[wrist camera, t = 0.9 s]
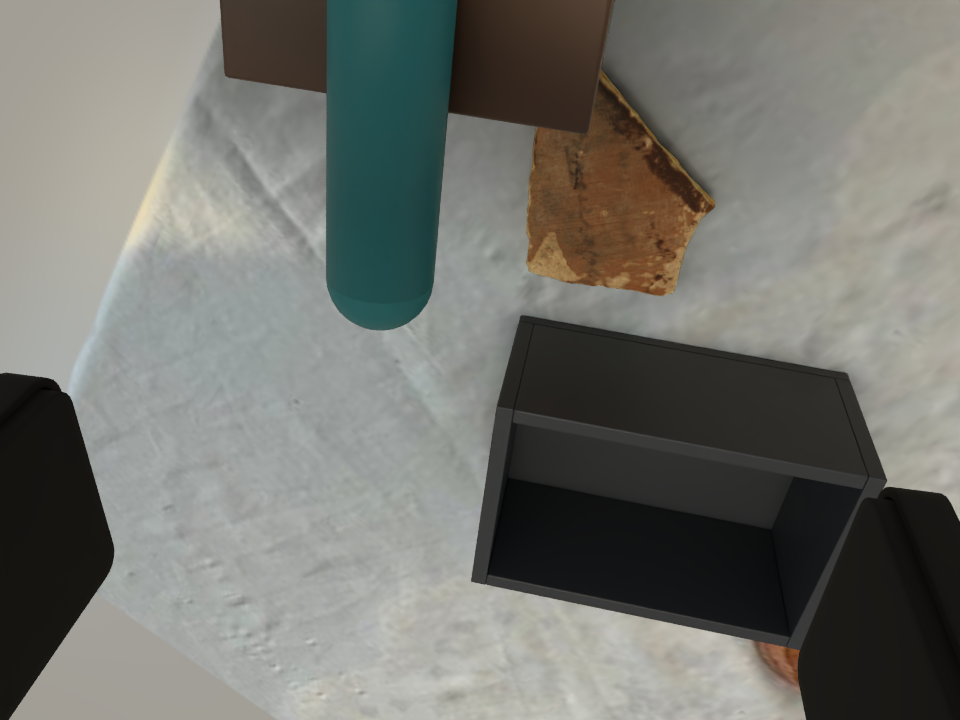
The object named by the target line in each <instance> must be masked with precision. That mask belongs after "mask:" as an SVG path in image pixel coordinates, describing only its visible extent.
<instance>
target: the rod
mask: <svg viewBox="0 0 960 720" xmlns="http://www.w3.org/2000/svg"><path fill="white" fill-rule="evenodd" d="M456 12H457V0H327V137H326V281H327V288H328V291H329V294H330V296H331V299H332V301H333V303H334V304H335V306H336V308H337V309H338V310H339V312H340V313H341V314H342V315H344V316H345V317H346V318H347V319H348V320H349V321H351V322H353V323H355V324H357V325H359V326H361V327H363V328H367V329H371V330H390V329H394V328H397V327H400V326H403V325H405V324H407V323H409V322H410V321H411V320H412V319H414V318H415V317H416V316H417V315H419V314H420V312H421V311H422V310H423V308H424V307H425V306H426V304H427V302H428V300H429V298H430V296H431V292H432V288H433V283H434V272H435V260H436V248H437V236H438V224H439V213H440V201H441V189H442V177H443V166H444V154H445V142H446V130H447V118H448V107H449V95H450V83H451V71H452V59H453V48H454V36H455V24H456Z"/></svg>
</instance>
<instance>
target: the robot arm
mask: <svg viewBox="0 0 960 720" xmlns="http://www.w3.org/2000/svg"><path fill="white" fill-rule="evenodd" d="M113 559H114V545H113V541H112V538H111V534H110V531H109V527H108V524H107V520H106V517H105V513H104V510H103V507H102V503H101V500H100V496H99V493H98V489H97V486H96V482H95V479H94V475H93V472H92V468H91V465H90V461H89V458H88V454H87V451H86V447H85V444H84V441H83V437H82V434H81V430H80V427H79V423H78V420H77V416H76V413H75V409H74V406H73V402H72V400H71V398H70V396H69V395H68V394H67V393H64V392H62V391H61V389H60V387H59V385H58V384H57V383H56V382H55V381H54V380H52V379H49V378H43V377H35V376H27V375H20V374H12V373H3V374H0V720H9V718H10V717H11V715H12V714H13V712H14V711H15V710H16V708H17V707H18V705H19V704H20V702H21V701H22V699H23V698H24V697H25V695H26V693H27V692H28V690H29V689H30V688H31V686H32V685H33V683H34V682H35V680H36V679H37V677H38V676H39V675H40V673H41V672H42V670H43V669H44V667H45V666H46V664H47V663H48V662H49V660H50V659H51V657H52V656H53V654H54V653H55V651H56V650H57V648H58V647H59V645H60V644H61V643H62V641H63V640H64V638H65V637H66V635H67V634H68V632H69V631H70V629H71V628H72V626H73V625H74V623H75V622H76V621H77V619H78V618H79V616H80V615H81V613H82V612H83V610H84V609H85V608H86V606H87V605H88V603H89V602H90V600H91V599H92V597H93V596H94V594H95V593H96V592H97V590H98V589H99V587H100V586H101V584H102V583H103V581H104V580H105V578H106V577H107V575H108V573H109V572H110V569H111V566H112V563H113ZM798 680H799V686H800V691H801V696H802V701H803V706H804V711H805V716H806V720H960V521H959V519H958V517H957V515H956V513H955V511H954V509H953V507H952V505H951V503H950V501H949V500H948V498H947V497H946V496H944V495H943V494H941V493H933V492H926V491H918V490H910V489H902V488H895V487H886V488H884V489H883V490H882V491H881V492H880V494H879V496H878V497H877V498H870V497H868V498H865V499H864V500H863V501H862V502H861V504H860V506H859V508H858V511H857V513H856V515H855V518H854V520H853V523H852V525H851V528H850V530H849V532H848V535H847V537H846V540H845V542H844V544H843V547H842V549H841V552H840V554H839V557H838V559H837V561H836V564H835V566H834V569H833V571H832V574H831V576H830V578H829V581H828V583H827V586H826V588H825V591H824V593H823V595H822V598H821V600H820V603H819V605H818V607H817V610H816V612H815V615H814V617H813V620H812V622H811V624H810V627H809V629H808V632H807V634H806V637H805V639H804V641H803V644H802V646H801V649H800V652H799V658H798Z"/></svg>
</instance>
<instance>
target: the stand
mask: <svg viewBox="0 0 960 720" xmlns="http://www.w3.org/2000/svg"><path fill="white" fill-rule="evenodd" d="M614 2H615V0H457V12H456V24H455V36H454V48H453V59H452V71H451V83H450V95H449V107H448V113H453V114H460V115H466V116H472V117H478V118H485V119H491V120H497V121H504V122H510V123H516V124H522V125H529V126H535V127H541V128H547V129H554V130H560V131H566V132H572V133H579V134H587V133H588V131H589V128H590V123H591V118H592V113H593V108H594V103H595V98H596V92H597V87H598V82H599V77H600V72H601V67H602V62H603V57H604V52H605V47H606V42H607V37H608V32H609V27H610V22H611V17H612V12H613V7H614ZM220 9H221V24H222V40H223V55H224V71H225V76H227V77H229V78H234V79H240V80H247V81H253V82H259V83H265V84H272V85H278V86H284V87H290V88H297V89H303V90H309V91H315V92H322V93H327V0H220Z"/></svg>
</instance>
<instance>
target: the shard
mask: <svg viewBox="0 0 960 720" xmlns="http://www.w3.org/2000/svg"><path fill="white" fill-rule="evenodd" d="M528 192H529V204H528V207H527V214H528V217H527V232H526V233H527V235H528V237H529V240H530V243H529V249H528V257H527V261H526V263H527V266H528V270H529V271H530V272H533V273H536V274H538V275H541V276H546V277H550V278H554V279H558V280H560V281H563V282H567V283H578V284H585V285H590V286H598V285H600V286H604V287H608V288H616V289H626V290H634V291H639V292H642V293H646V294H651V295H657V296H664V295H667V294H672V293H673V292H674V290H675V287H676V283H677V280H678V275H679V270H680V267H681V263H682V260H683V257H684V253H685V250H686V247H687V244H688V242H689V240H690V239H691V237H692V235H693V233H694V231H695V229H696V228H697V226H698V224H699V221H700V220H701V218H703V217H704V216H705V215H706V214H707V213H709V212H710V211H711V210H712V209H713V208H714V207H715V201H714V200H713V199H712V198H711V197H710V196H709V195H708V194H707V193H706V192H705V191H704V190H703V189H702V188H701V187H700V186H699V185H698V184H697V183H696V182H694V181H693V180H692V179H691V178H690V177H689V175H688V174H687V172H686V171H685V170H684V169H683V168H682V167H681V165H680V163H679V161H678V160H677V159H676V158H675V157H674V156H673V155H672V154H671V153H670V152H669V151H668V150H667V149H666V148H664V147H663V146H662V145H661V144H660V143H659V142H658V140H657V139H656V137H655V136H654V134H653V133H652V132H651V131H650V130H649V129H648V127H647V126H646V125H645V124H644V122H643V121H642V120H641V118H640V117H639V114H638V113H636V112H635V111H634V110H633V109H632V108H631V107H630V106H629V104H628V103H627V101H626V100H625V99H624V97H623V96H622V94H621V93H620V92H619V91H618V89H617V88H616V87H615V86H614V85H613V84H612V83H611V82H610V80H609V79H608V77H607V76H606V75H605V73H604V72H603V71H602V69H601V72H600V77H599V82H598V87H597V92H596V98H595V103H594V108H593V113H592V118H591V123H590V128H589V131H588V133H587V134H579V133H572V132H566V131H560V130H554V129H547V128H541V127H537V130H536V134H535V138H534V146H533V163H532V170H531V174H530V179H529V191H528Z"/></svg>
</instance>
